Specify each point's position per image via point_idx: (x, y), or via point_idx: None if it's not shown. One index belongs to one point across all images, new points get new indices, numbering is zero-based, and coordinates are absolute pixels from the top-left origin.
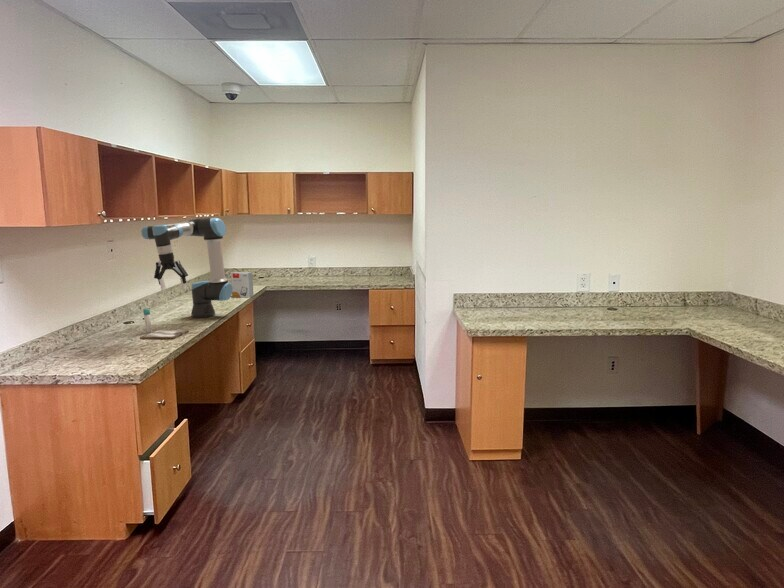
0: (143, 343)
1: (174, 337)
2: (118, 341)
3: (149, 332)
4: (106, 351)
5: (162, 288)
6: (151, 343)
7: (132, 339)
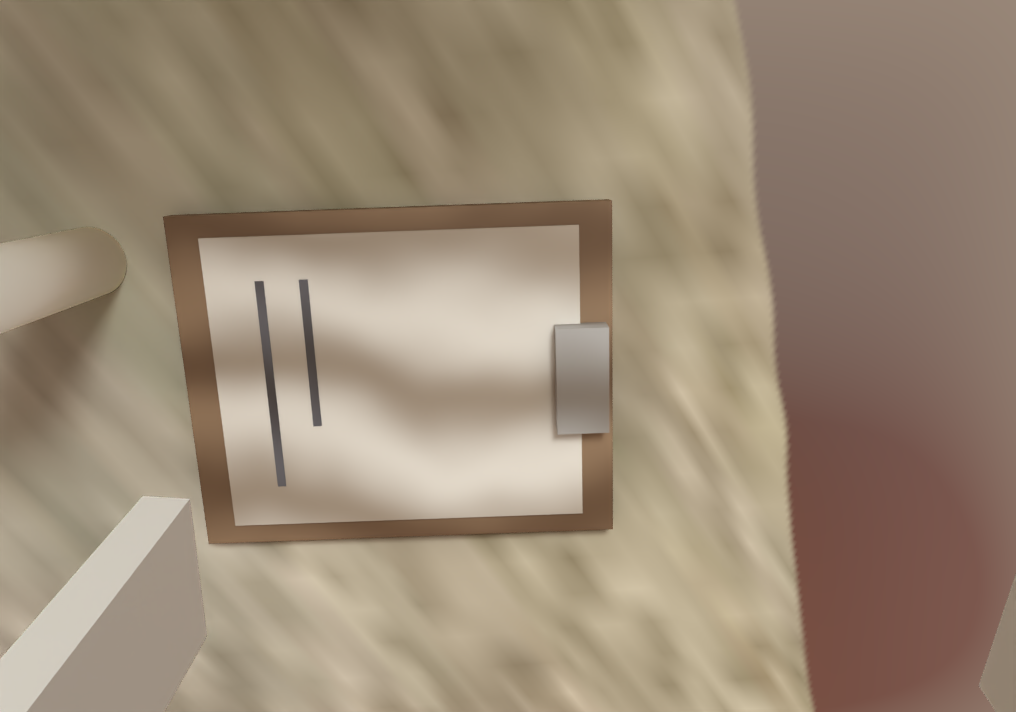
0: (386, 678)
1: (611, 502)
2: None
3: (115, 286)
4: None
5: (172, 684)
6: (471, 671)
7: None
